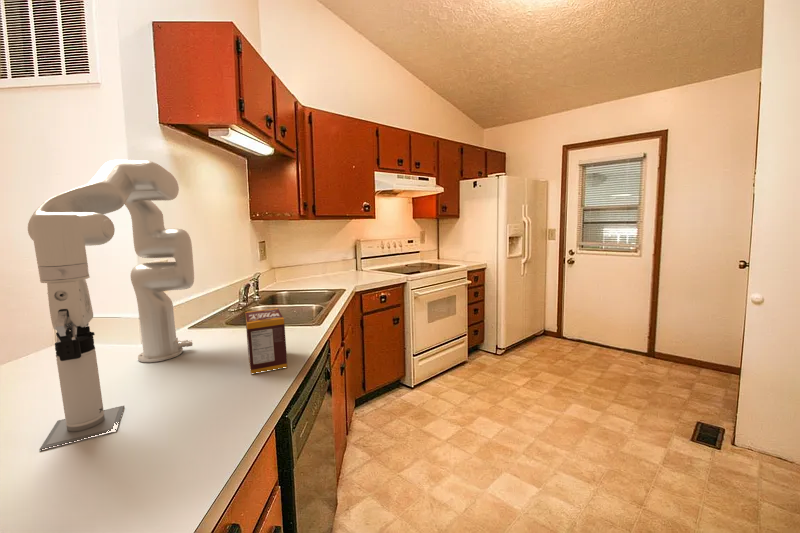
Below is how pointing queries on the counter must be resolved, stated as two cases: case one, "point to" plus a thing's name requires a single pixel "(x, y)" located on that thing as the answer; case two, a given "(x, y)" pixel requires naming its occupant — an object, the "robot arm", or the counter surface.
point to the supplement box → (266, 340)
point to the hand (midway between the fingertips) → (77, 351)
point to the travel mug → (81, 386)
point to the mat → (63, 436)
